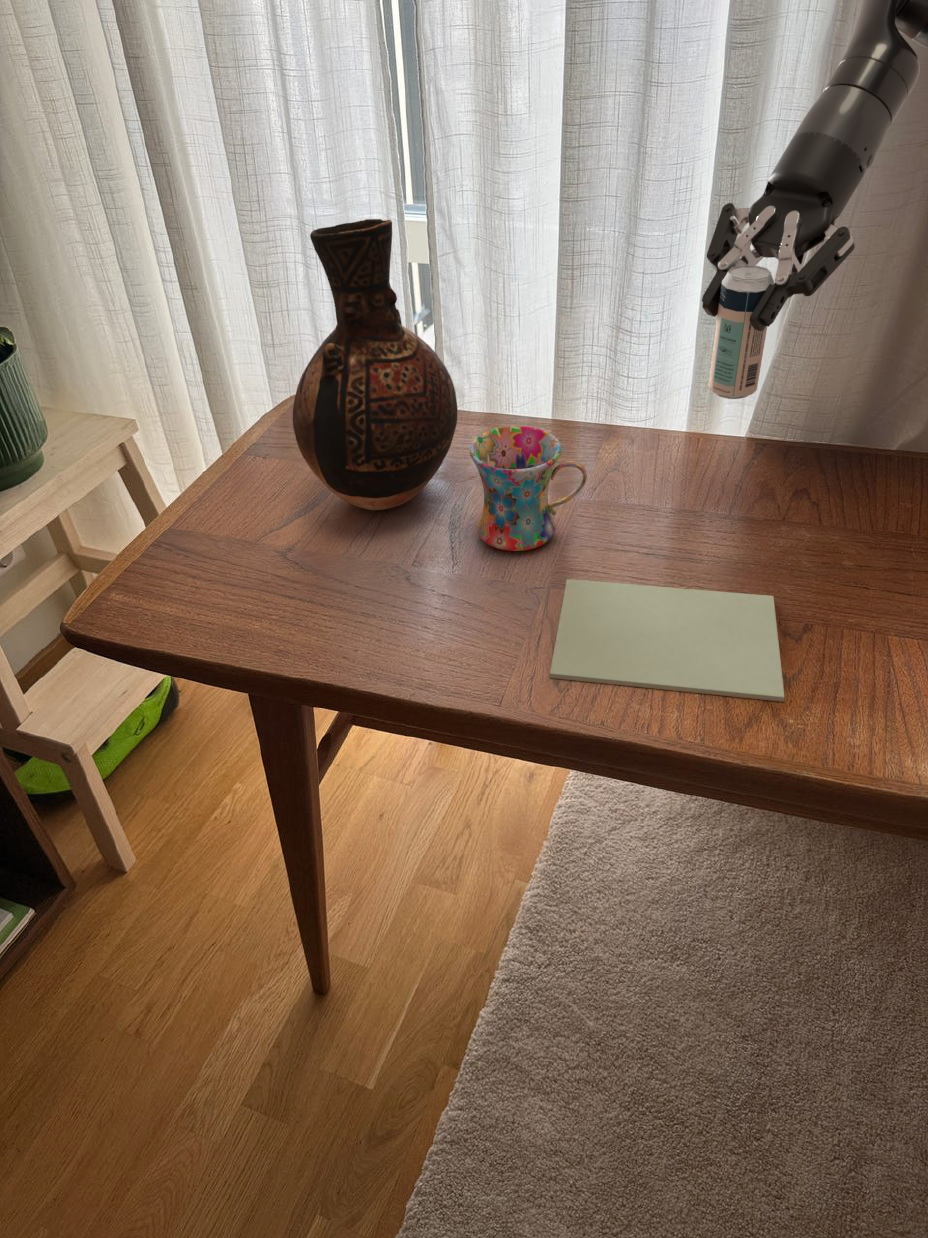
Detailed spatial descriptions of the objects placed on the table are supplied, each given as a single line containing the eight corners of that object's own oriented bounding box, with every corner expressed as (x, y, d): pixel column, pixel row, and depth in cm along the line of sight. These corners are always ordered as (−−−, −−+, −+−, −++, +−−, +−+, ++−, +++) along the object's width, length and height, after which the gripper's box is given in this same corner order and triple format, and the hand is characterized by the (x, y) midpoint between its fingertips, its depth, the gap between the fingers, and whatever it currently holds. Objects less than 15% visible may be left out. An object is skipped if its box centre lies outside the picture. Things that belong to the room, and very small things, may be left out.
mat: (772, 600, 86) (773, 595, 85) (783, 702, 75) (784, 697, 75) (566, 583, 89) (566, 578, 89) (549, 678, 79) (549, 673, 79)
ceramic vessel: (412, 554, 94) (383, 267, 75) (274, 523, 100) (214, 249, 81) (487, 460, 109) (479, 199, 90) (363, 438, 115) (330, 189, 96)
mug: (465, 555, 94) (461, 467, 87) (482, 507, 101) (479, 423, 94) (579, 564, 92) (583, 475, 85) (587, 515, 99) (592, 429, 92)
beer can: (756, 382, 92) (775, 264, 84) (756, 402, 88) (776, 281, 81) (708, 380, 93) (723, 263, 85) (707, 400, 90) (722, 280, 82)
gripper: (750, 119, 84) (656, 281, 86) (892, 138, 75) (784, 318, 77) (774, 169, 90) (686, 319, 92) (908, 192, 81) (808, 358, 83)
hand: (731, 318), depth 85 cm, fingers closed on beer can, 4 cm apart
